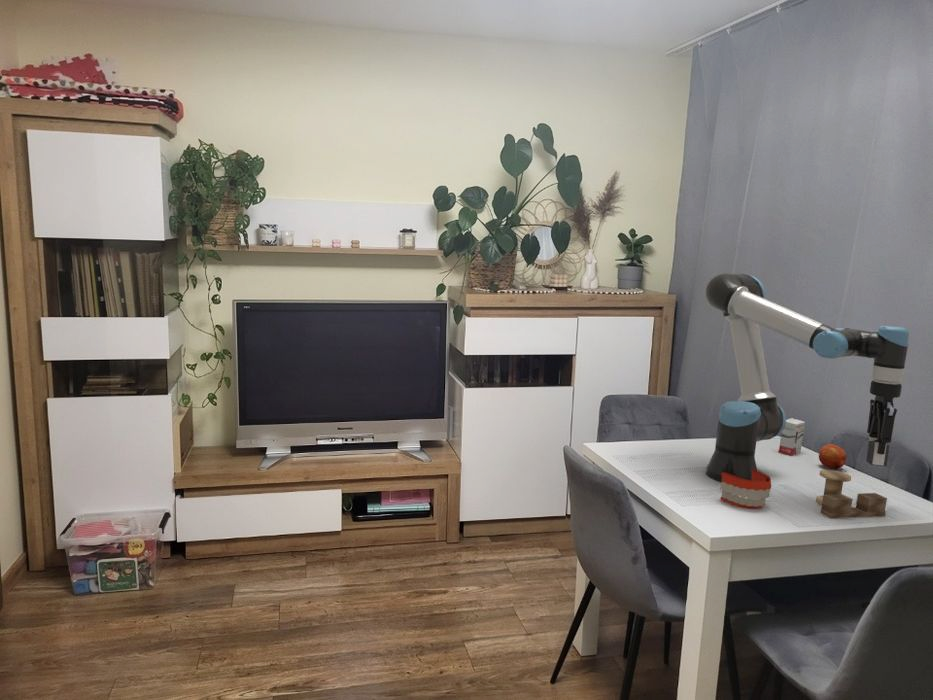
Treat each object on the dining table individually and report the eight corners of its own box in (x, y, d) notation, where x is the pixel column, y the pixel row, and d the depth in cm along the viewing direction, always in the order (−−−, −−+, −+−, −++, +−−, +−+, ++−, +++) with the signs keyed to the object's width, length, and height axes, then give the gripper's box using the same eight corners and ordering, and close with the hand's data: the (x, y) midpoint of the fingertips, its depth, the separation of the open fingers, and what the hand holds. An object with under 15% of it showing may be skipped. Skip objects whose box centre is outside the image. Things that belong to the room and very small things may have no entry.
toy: (744, 512, 192) (748, 484, 191) (717, 499, 201) (720, 472, 200) (779, 508, 197) (782, 481, 196) (750, 495, 206) (754, 469, 205)
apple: (831, 464, 246) (834, 441, 245) (850, 471, 238) (854, 448, 237) (812, 464, 244) (815, 442, 242) (831, 472, 236) (834, 449, 234)
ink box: (792, 456, 253) (796, 423, 251) (778, 452, 256) (782, 420, 254) (801, 452, 259) (805, 420, 257) (787, 449, 262) (791, 417, 260)
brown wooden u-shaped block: (830, 518, 192) (833, 499, 191) (820, 512, 196) (822, 494, 195) (884, 516, 197) (887, 498, 196) (873, 510, 200) (876, 493, 200)
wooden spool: (829, 509, 199) (834, 479, 198) (809, 499, 207) (813, 470, 205) (853, 508, 201) (857, 478, 200) (832, 498, 209) (836, 469, 207)
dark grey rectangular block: (886, 466, 200) (889, 442, 199) (871, 464, 201) (874, 441, 200) (881, 462, 204) (884, 439, 203) (866, 461, 205) (869, 438, 204)
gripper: (913, 388, 190) (900, 472, 194) (889, 378, 207) (878, 455, 210) (883, 385, 192) (870, 469, 195) (861, 375, 208) (851, 452, 212)
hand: (874, 462), depth 203 cm, fingers closed on dark grey rectangular block, 4 cm apart
